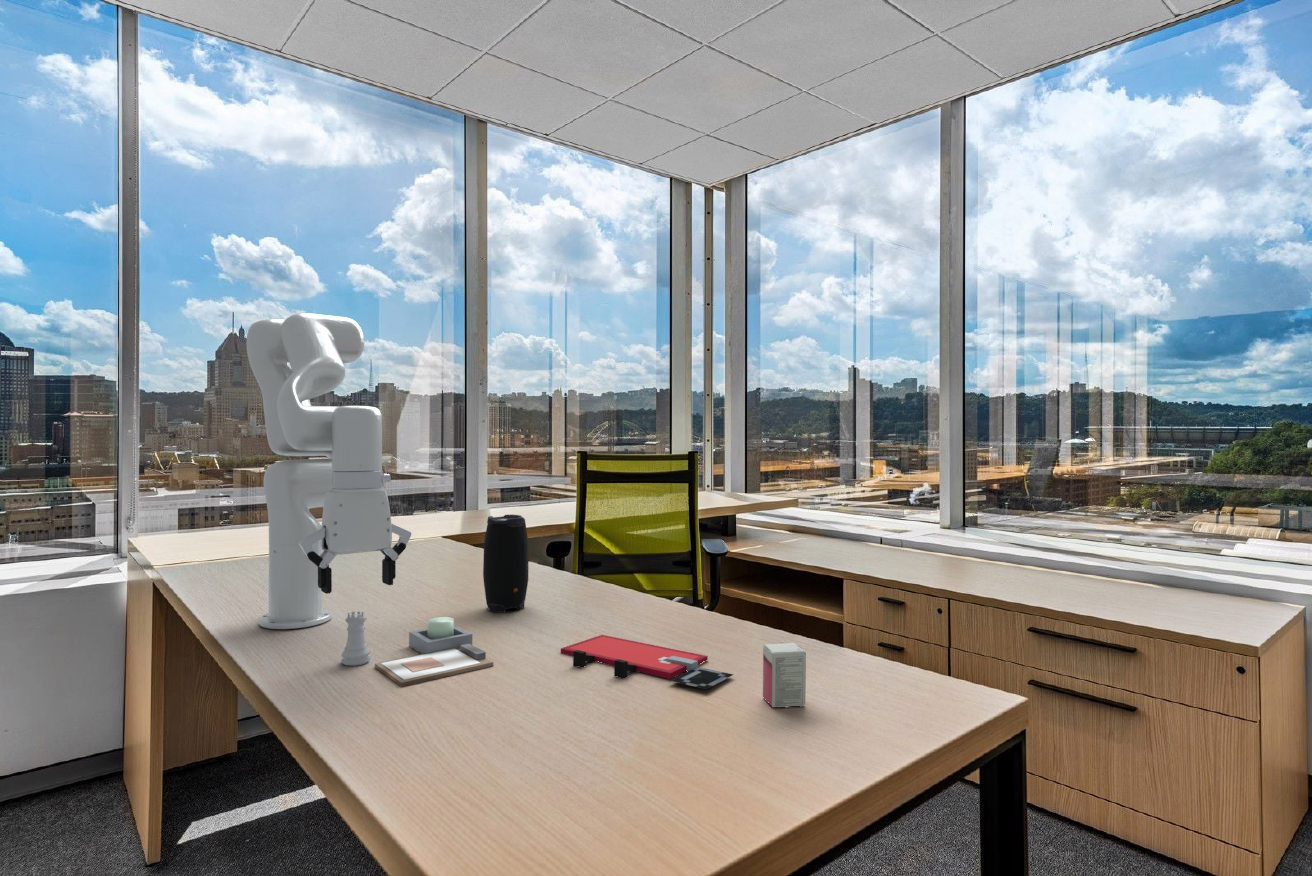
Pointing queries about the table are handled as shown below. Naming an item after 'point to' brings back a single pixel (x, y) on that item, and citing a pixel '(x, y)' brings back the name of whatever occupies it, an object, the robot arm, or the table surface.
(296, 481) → the robot arm
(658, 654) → the red board with handle
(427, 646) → the button housing
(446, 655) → the clipboard
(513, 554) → the portable speaker
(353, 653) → the rook chess piece
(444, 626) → the button
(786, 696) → the small box
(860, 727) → the table surface
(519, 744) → the table surface
